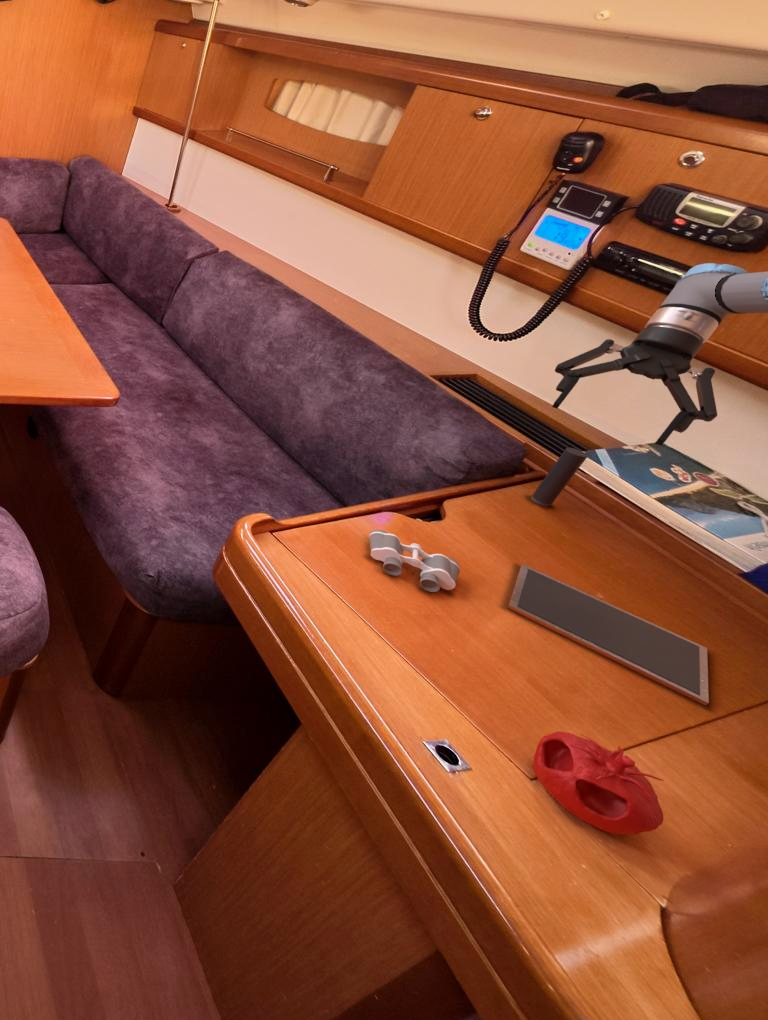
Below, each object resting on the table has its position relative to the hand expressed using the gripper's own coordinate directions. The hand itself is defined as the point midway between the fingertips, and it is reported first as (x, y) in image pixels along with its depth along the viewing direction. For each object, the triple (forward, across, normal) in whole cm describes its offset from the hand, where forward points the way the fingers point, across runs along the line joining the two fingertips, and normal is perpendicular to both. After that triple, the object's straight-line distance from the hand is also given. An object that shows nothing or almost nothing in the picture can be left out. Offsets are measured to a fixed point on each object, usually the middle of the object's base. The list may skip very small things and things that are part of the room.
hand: (605, 423), depth 120 cm
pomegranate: (+66, +17, -49) cm, 84 cm away
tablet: (+40, +13, -20) cm, 47 cm away
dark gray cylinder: (+18, 0, +4) cm, 19 cm away
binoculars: (+49, -8, -29) cm, 58 cm away
